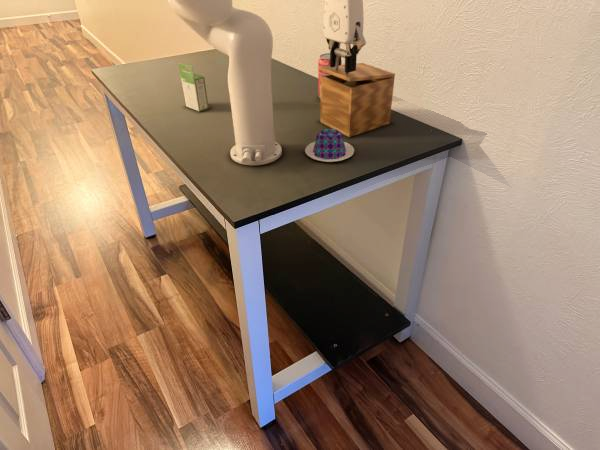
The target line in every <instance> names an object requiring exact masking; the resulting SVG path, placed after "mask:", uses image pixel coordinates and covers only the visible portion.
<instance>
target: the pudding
mask: <svg viewBox="0 0 600 450" xmlns="http://www.w3.org/2000/svg"><path fill="white" fill-rule="evenodd" d="M343 135H344V134H342V133H341V132H340V131H338V130H337V129H332V128H326V129H325V128H324V129H321V130H320V131H318V133H317V134H316V136H315V137H316V138H315V141H313V142H311V143H309V144H308V145H307V146H306V147H305V149H304V153H305V154H306V156H307V157H310V158H311V159H313V160H315V161H319V162H326V163H333V162H341V161H344V160H346V159H349V158H350V157H352V156H353V155H354V153H355V149H354V147H353V145H352V144H350V143H348V142H346V141H345V140H344V136H343Z"/></svg>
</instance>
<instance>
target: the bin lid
mask: <svg viewBox="0 0 600 450" xmlns="http://www.w3.org/2000/svg"><path fill="white" fill-rule="evenodd" d="M334 53H335V55H336V60H335V67H333V68H332V67H330V66H321V67H319V70H321V71H323V72H326V73H328V74H331V75H334V76H336V77H339V78H341V79H344V80H347V81H349V82H352V81H361V80H370V79H379V78H388V77H395V76H396V73H394V72H391V71H388V70H386V69H383V68H379V67H376V66H373V65H371V64H370V65H369V64H366V63H364V62H359V63H358V62H356V70H355V71H353V72H349V73H346V72H345V64H342V65H340V66H339V58H340V57H341V58H343V59H345V56H347V51H346V49H344V48H341V47H340V48H336V49H335V51H334Z"/></svg>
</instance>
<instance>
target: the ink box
mask: <svg viewBox="0 0 600 450" xmlns="http://www.w3.org/2000/svg"><path fill="white" fill-rule="evenodd" d="M177 64H178V68H179V74H180V81H181V86H182V91H183V96H184V101H185V107H186V108H190V109H192V110H194V111H196V112H203V111H206V110H208V109H209V108H210V107H209V100H208V92H207V85H206V79H205V76H204V75H201V74H198V73H194V69H193V66H192V65H187V64H184V63H181V62H177ZM184 68H185V69H187V70H188V71H186V70H183V69H184Z"/></svg>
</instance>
